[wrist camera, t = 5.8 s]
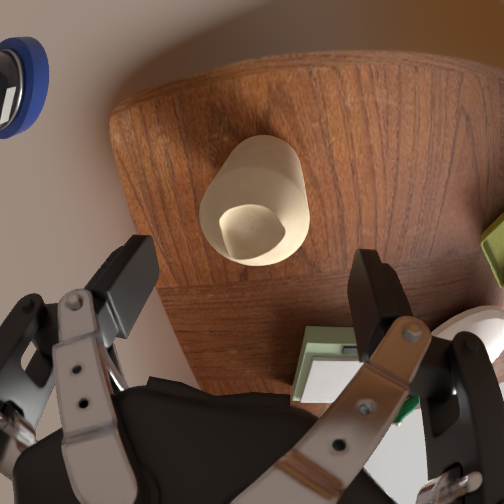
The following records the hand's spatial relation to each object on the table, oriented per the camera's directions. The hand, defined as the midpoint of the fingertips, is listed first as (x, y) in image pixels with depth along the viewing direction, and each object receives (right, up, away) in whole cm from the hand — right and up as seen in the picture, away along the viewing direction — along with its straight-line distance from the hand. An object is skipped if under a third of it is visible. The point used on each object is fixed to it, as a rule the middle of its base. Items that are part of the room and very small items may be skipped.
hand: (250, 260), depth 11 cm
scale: (+12, -13, +22) cm, 28 cm away
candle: (+1, +7, +10) cm, 12 cm away
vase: (+27, -11, +19) cm, 34 cm away
